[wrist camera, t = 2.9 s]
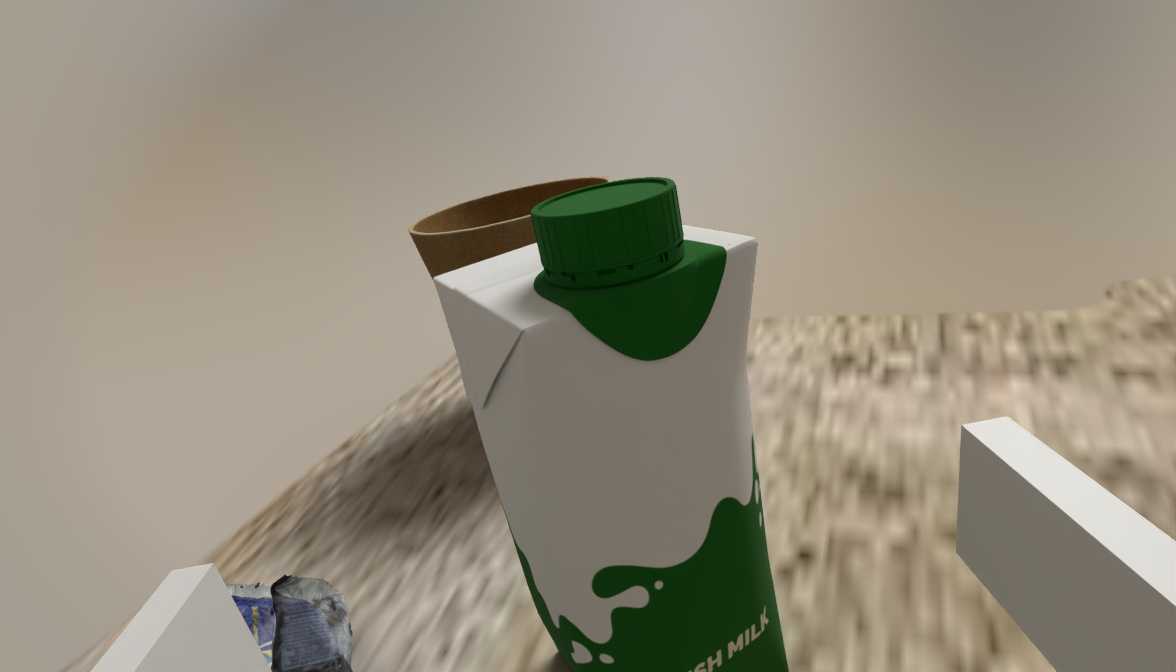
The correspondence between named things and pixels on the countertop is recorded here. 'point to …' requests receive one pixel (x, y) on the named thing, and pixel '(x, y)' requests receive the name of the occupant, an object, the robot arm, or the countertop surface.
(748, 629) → the milk carton
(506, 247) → the plant pot
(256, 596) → the snack package
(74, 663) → the countertop surface
